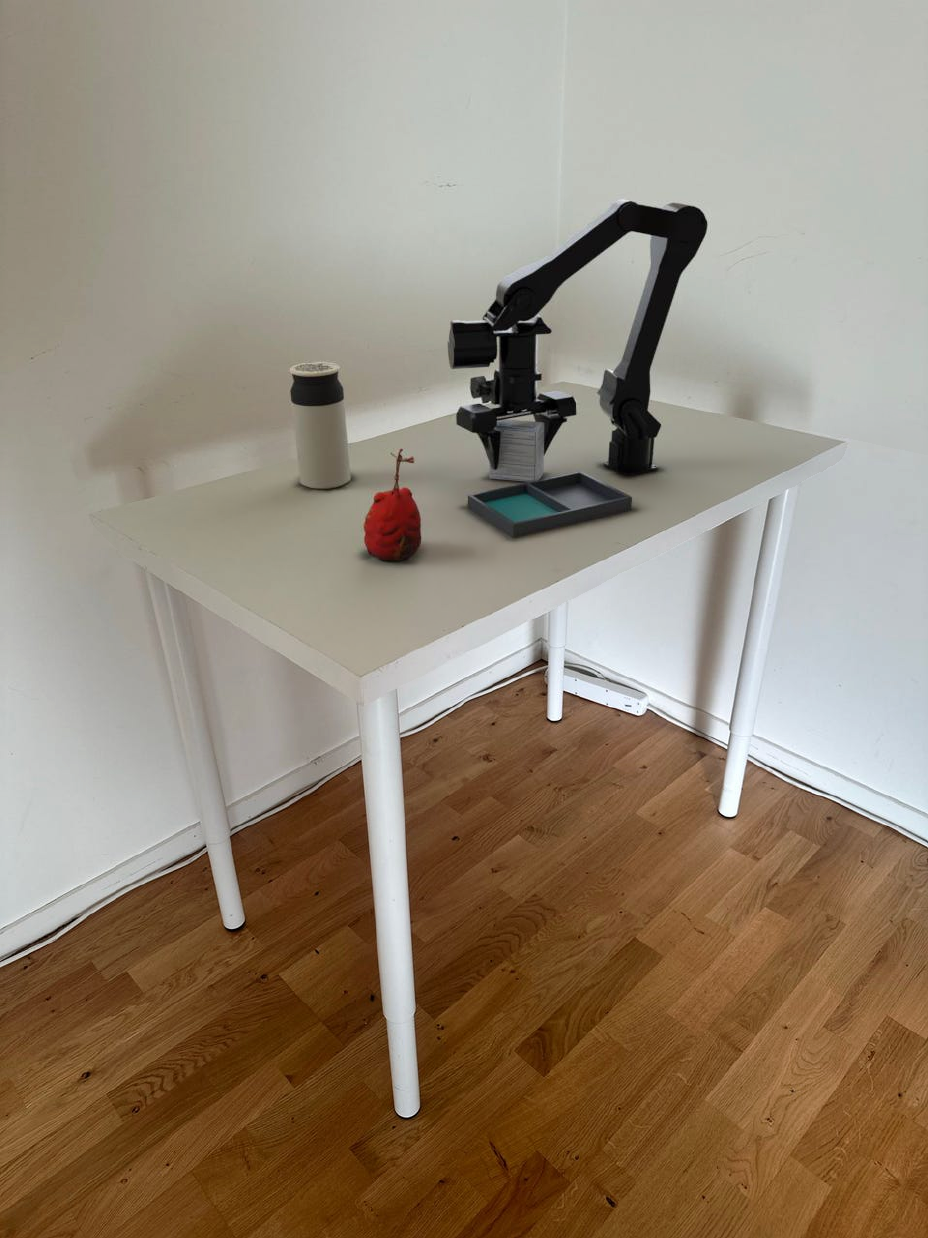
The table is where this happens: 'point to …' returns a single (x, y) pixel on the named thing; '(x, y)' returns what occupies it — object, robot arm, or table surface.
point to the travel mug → (320, 425)
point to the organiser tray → (548, 503)
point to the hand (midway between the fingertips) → (517, 464)
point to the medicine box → (520, 451)
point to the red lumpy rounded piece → (393, 522)
